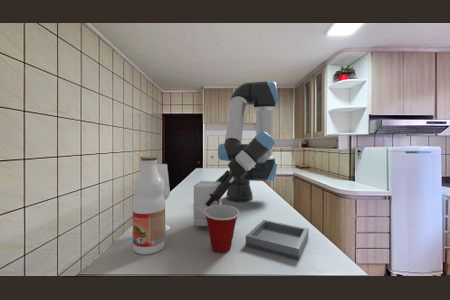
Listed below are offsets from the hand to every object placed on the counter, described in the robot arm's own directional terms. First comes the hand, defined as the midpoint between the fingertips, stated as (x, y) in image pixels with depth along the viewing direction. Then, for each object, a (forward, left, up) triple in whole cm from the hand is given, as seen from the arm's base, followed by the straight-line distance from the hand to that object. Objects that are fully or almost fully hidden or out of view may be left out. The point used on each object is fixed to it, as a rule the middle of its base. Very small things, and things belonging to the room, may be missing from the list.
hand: (200, 206), depth 81 cm
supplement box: (-2, +2, -6) cm, 7 cm away
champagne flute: (+9, -12, -8) cm, 17 cm away
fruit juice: (+21, -4, -8) cm, 23 cm away
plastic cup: (+10, +16, -8) cm, 20 cm away
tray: (-3, +29, -8) cm, 30 cm away
